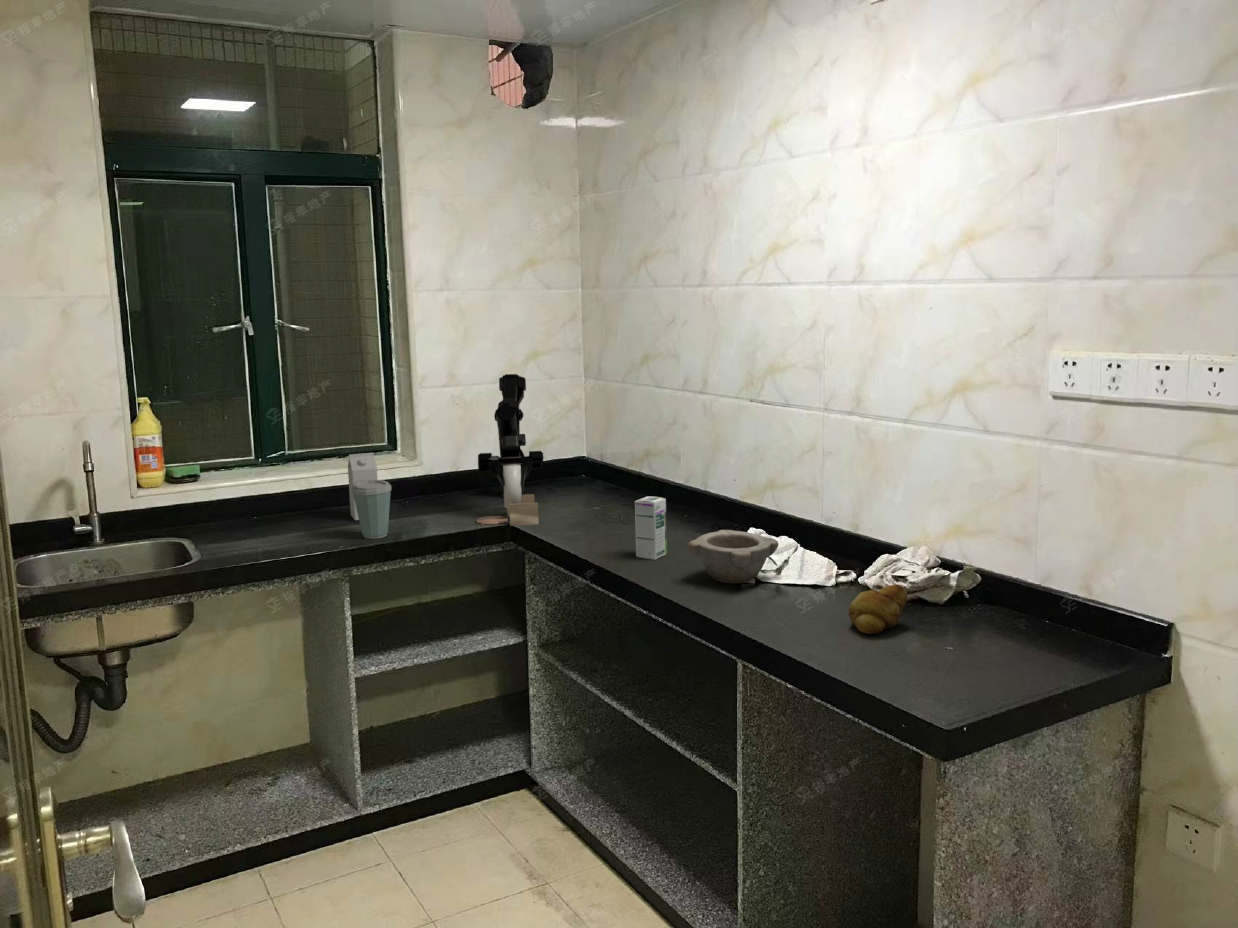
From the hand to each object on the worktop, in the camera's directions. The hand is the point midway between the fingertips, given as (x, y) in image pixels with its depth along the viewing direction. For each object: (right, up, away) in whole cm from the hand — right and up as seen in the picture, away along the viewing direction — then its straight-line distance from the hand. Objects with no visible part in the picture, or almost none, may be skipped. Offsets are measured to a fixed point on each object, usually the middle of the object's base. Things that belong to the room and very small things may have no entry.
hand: (512, 485), depth 279 cm
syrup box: (+38, -17, -37) cm, 56 cm away
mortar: (+56, -20, -57) cm, 82 cm away
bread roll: (+79, -26, -90) cm, 123 cm away
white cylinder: (0, -6, +3) cm, 7 cm away
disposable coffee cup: (-36, -14, -14) cm, 41 cm away
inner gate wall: (+1, -9, +9) cm, 13 cm away
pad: (-6, -10, +2) cm, 12 cm away
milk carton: (-44, -10, +9) cm, 47 cm away
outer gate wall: (+3, -11, -2) cm, 12 cm away
